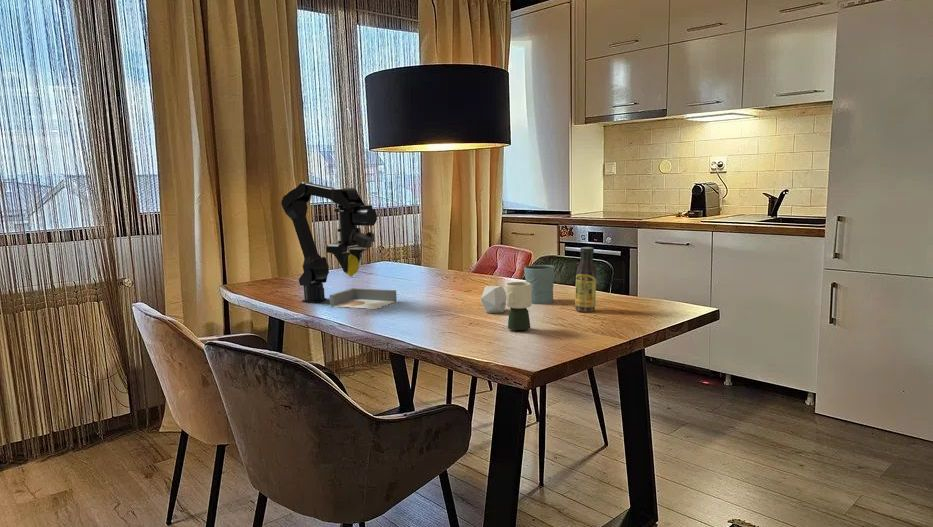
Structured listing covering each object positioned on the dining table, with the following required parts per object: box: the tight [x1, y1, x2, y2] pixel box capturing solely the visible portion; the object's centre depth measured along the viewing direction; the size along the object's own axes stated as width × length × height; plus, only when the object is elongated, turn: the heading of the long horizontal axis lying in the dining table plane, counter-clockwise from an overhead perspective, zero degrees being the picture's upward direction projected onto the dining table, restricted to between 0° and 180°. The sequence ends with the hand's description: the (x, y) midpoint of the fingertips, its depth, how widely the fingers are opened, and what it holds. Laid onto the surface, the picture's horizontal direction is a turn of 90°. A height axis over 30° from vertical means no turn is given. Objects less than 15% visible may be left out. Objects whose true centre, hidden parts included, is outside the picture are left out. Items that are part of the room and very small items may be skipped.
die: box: [480, 285, 507, 314], centre depth 195 cm, size 8×9×10 cm
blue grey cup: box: [523, 264, 555, 305], centre depth 209 cm, size 10×10×12 cm
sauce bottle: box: [574, 246, 597, 313], centre depth 192 cm, size 6×6×20 cm
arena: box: [329, 287, 398, 310], centre depth 214 cm, size 18×14×4 cm
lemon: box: [344, 254, 360, 278], centre depth 212 cm, size 6×6×8 cm
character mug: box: [504, 281, 533, 332], centre depth 171 cm, size 11×7×13 cm, turn 147°
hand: (350, 270), depth 212 cm, fingers closed on lemon, 5 cm apart
